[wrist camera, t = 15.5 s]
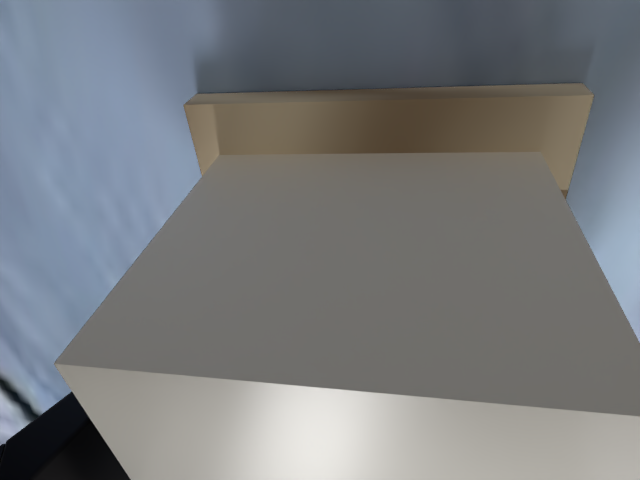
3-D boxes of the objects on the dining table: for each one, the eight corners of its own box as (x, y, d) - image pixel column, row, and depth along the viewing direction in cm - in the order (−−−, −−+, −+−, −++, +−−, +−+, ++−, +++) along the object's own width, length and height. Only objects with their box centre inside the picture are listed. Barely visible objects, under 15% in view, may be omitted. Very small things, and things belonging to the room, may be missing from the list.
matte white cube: (266, 353, 16) (193, 573, 11) (219, 154, 11) (54, 363, 6) (494, 370, 14) (539, 636, 9) (540, 151, 10) (679, 420, 5)
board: (282, 452, 21) (278, 469, 21) (196, 93, 11) (183, 104, 11) (481, 477, 20) (484, 496, 19) (582, 83, 10) (594, 95, 9)
